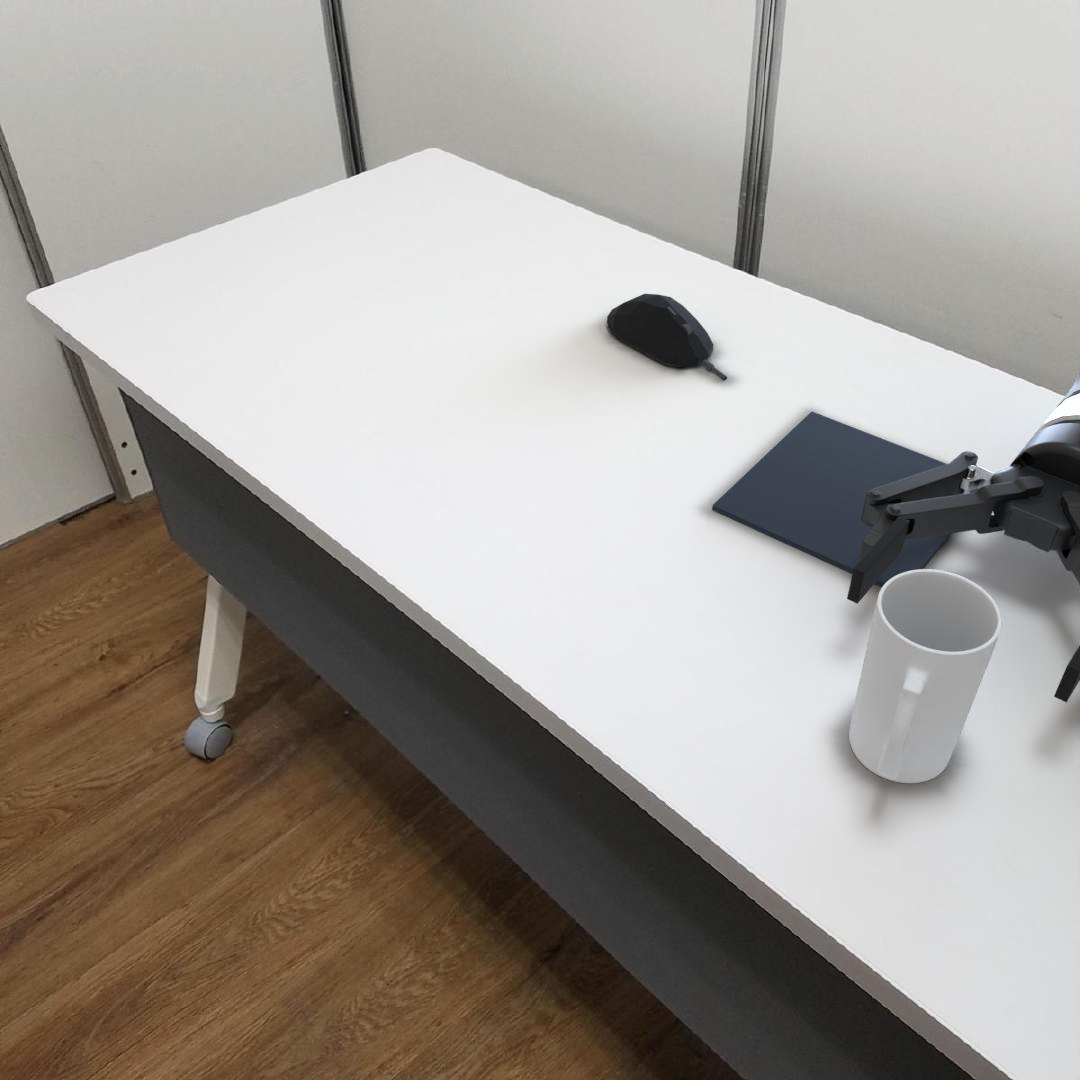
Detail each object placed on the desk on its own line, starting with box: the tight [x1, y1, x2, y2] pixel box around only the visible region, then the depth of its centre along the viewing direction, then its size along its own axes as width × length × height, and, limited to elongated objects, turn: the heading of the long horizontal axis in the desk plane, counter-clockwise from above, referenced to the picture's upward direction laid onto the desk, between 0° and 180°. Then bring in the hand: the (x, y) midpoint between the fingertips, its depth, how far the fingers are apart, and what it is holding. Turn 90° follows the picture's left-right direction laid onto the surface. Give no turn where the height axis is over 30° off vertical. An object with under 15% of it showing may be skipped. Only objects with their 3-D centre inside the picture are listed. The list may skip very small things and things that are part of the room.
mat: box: [711, 411, 979, 588], centre depth 90 cm, size 16×16×1 cm
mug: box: [848, 568, 1003, 784], centre depth 66 cm, size 10×7×12 cm, turn 152°
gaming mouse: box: [606, 293, 728, 381], centre depth 106 cm, size 6×15×4 cm, turn 38°
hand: (955, 633), depth 70 cm, fingers open, 13 cm apart
